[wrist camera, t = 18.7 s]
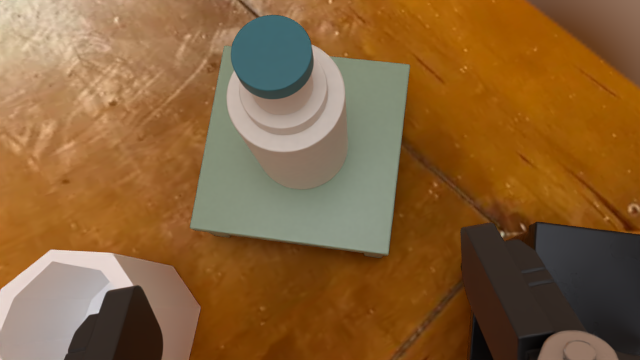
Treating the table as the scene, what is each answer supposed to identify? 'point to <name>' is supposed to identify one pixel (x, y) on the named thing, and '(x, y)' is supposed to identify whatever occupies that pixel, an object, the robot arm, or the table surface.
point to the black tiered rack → (586, 282)
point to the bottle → (288, 102)
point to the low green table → (320, 202)
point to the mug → (88, 302)
